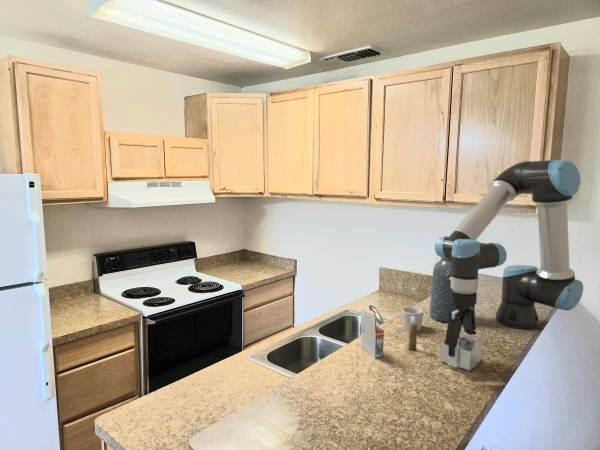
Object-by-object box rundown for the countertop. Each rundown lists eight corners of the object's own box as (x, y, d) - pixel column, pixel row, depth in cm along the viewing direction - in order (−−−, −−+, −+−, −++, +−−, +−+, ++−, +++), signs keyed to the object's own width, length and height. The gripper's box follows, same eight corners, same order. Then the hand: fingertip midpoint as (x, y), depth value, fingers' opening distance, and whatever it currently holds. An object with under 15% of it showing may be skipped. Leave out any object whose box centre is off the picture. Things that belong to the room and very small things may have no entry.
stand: (420, 346, 131) (421, 320, 130) (428, 357, 124) (429, 329, 122) (397, 346, 131) (398, 320, 130) (403, 357, 123) (404, 329, 122)
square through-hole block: (480, 360, 118) (481, 342, 118) (469, 370, 112) (470, 351, 111) (452, 351, 125) (453, 333, 124) (439, 360, 118) (440, 342, 118)
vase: (431, 311, 166) (434, 247, 163) (461, 315, 161) (464, 249, 158) (427, 320, 156) (430, 252, 152) (460, 325, 150) (463, 255, 147)
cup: (424, 338, 138) (425, 317, 137) (401, 336, 140) (402, 315, 139) (421, 327, 149) (422, 307, 148) (400, 325, 150) (401, 305, 149)
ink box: (369, 349, 130) (370, 307, 128) (383, 359, 123) (385, 315, 121) (360, 351, 128) (360, 309, 126) (374, 361, 121) (375, 317, 119)
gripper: (465, 280, 126) (462, 344, 129) (434, 296, 110) (431, 368, 113) (489, 285, 121) (485, 351, 124) (460, 302, 105) (456, 377, 108)
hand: (459, 359), depth 118 cm, fingers open, 11 cm apart
